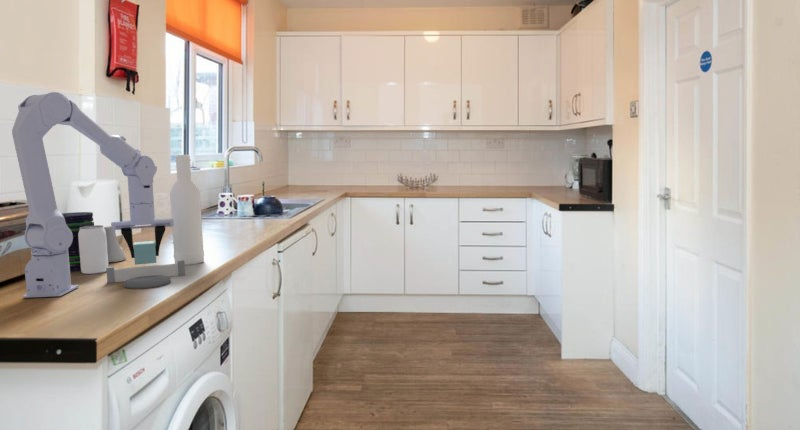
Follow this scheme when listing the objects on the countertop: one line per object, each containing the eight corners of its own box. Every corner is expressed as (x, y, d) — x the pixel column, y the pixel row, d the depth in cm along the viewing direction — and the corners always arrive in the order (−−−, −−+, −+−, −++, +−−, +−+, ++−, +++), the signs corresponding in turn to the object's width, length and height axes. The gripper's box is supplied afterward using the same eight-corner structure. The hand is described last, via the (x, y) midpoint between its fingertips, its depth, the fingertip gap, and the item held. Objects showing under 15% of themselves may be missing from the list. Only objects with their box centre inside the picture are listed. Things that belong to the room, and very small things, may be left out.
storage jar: (74, 265, 170) (70, 212, 168) (105, 265, 168) (101, 212, 166) (47, 272, 160) (42, 216, 159) (79, 272, 158) (75, 216, 157)
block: (155, 259, 158) (154, 240, 157) (156, 262, 153) (155, 243, 152) (134, 261, 156) (133, 242, 155) (134, 264, 151) (133, 244, 150)
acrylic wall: (184, 274, 152) (184, 260, 152) (185, 275, 151) (184, 261, 151) (107, 281, 146) (106, 267, 145) (107, 283, 144) (106, 268, 144)
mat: (163, 287, 137) (163, 283, 137) (117, 289, 137) (117, 285, 136) (175, 278, 147) (175, 274, 147) (133, 280, 146) (132, 276, 146)
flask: (117, 258, 180) (115, 224, 179) (131, 260, 176) (128, 226, 175) (93, 261, 174) (90, 227, 173) (106, 264, 170) (104, 229, 169)
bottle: (168, 264, 167) (160, 155, 164) (188, 259, 174) (181, 154, 171) (190, 265, 164) (183, 154, 161) (210, 260, 171) (204, 154, 168)
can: (78, 275, 155) (74, 228, 153) (84, 270, 161) (80, 226, 160) (106, 273, 156) (102, 227, 155) (110, 268, 163) (107, 224, 161)
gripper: (171, 200, 159) (174, 251, 161) (110, 203, 153) (114, 256, 155) (172, 202, 153) (176, 255, 154) (109, 205, 147) (113, 260, 148)
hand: (145, 256), depth 154 cm, fingers closed on block, 5 cm apart
